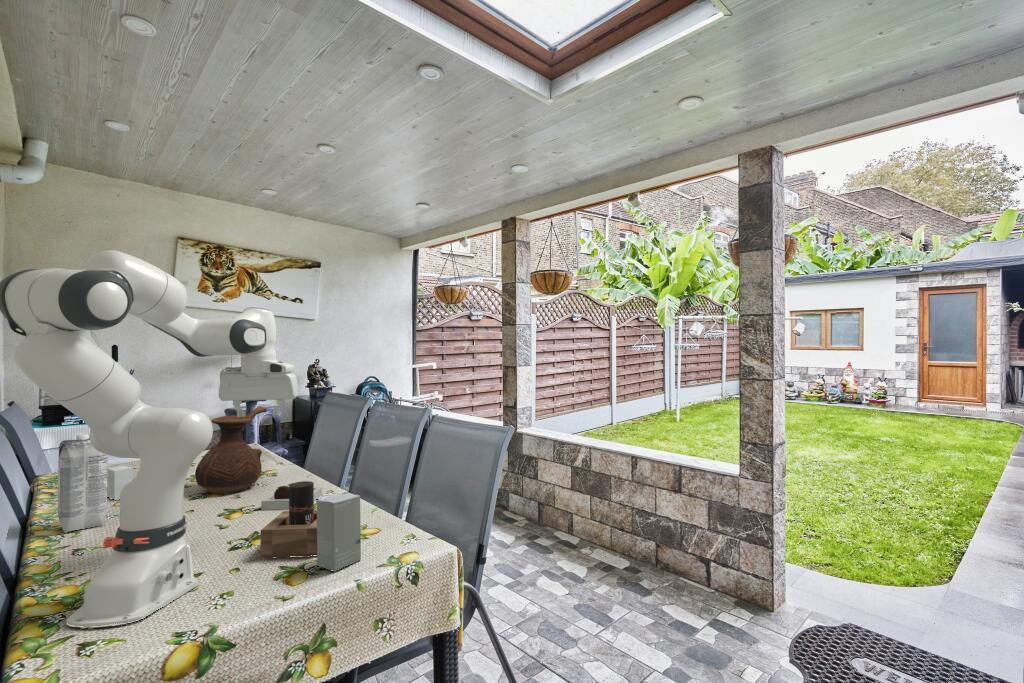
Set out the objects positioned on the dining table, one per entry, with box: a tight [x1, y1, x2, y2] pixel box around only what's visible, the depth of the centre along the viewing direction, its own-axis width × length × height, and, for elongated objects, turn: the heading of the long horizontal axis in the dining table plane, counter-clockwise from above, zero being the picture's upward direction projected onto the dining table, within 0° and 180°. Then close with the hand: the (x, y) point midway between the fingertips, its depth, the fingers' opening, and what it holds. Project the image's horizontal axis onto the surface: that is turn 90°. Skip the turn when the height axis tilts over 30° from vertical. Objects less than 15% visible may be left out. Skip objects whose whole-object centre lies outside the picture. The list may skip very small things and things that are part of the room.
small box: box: [107, 464, 134, 501], centre depth 170 cm, size 8×6×10 cm
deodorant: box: [288, 480, 315, 525], centre depth 126 cm, size 6×6×15 cm
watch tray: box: [261, 486, 323, 511], centre depth 162 cm, size 14×14×3 cm
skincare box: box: [316, 492, 362, 572], centre depth 115 cm, size 8×7×16 cm
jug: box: [194, 405, 267, 495], centre depth 179 cm, size 22×22×30 cm
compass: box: [273, 485, 289, 499], centre depth 160 cm, size 8×8×7 cm
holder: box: [260, 509, 317, 559], centre depth 125 cm, size 14×14×7 cm
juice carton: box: [57, 433, 108, 533], centre depth 141 cm, size 9×10×27 cm
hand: (259, 416), depth 133 cm, fingers open, 8 cm apart
